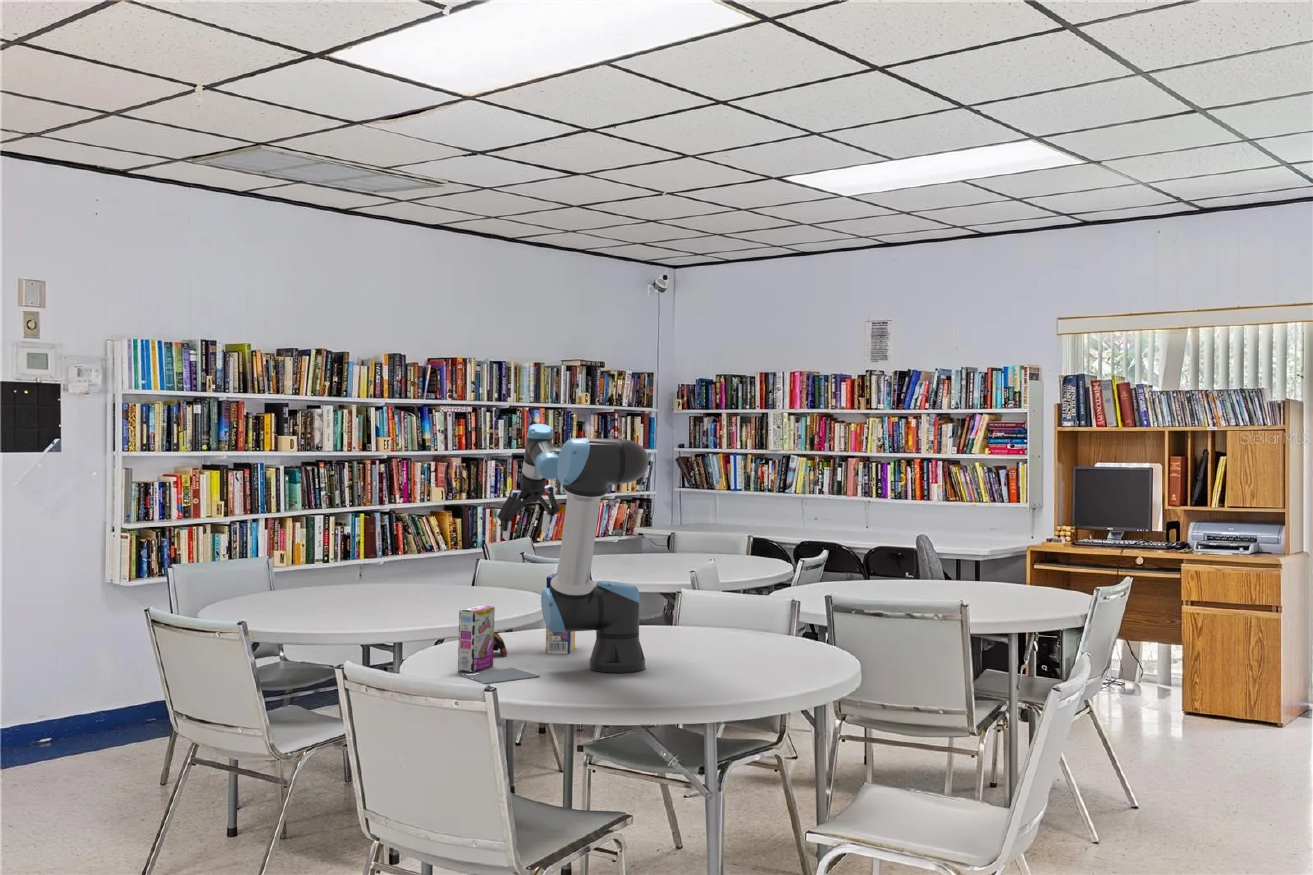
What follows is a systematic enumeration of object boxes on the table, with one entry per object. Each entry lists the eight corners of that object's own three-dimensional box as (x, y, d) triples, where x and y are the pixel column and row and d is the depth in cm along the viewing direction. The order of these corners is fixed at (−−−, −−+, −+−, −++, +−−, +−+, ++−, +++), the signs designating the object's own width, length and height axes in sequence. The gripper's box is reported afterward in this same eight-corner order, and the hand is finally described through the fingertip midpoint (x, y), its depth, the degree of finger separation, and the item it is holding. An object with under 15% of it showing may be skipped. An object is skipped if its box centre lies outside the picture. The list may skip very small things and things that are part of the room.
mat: (540, 677, 294) (540, 675, 294) (485, 684, 284) (485, 683, 284) (512, 668, 305) (512, 667, 305) (459, 675, 295) (459, 674, 295)
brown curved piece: (506, 660, 321) (492, 636, 319) (477, 674, 322) (463, 650, 321) (514, 643, 332) (500, 619, 331) (486, 656, 334) (472, 632, 332)
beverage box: (574, 647, 340) (575, 574, 341) (569, 653, 329) (569, 577, 330) (552, 647, 341) (552, 573, 341) (545, 653, 330) (546, 577, 330)
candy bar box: (473, 673, 299) (474, 610, 299) (457, 672, 300) (457, 609, 301) (494, 666, 309) (495, 605, 309) (478, 665, 311) (479, 604, 311)
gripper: (563, 463, 347) (553, 523, 356) (491, 473, 333) (483, 536, 341) (576, 474, 342) (566, 535, 351) (503, 485, 328) (494, 548, 336)
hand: (525, 535), depth 346 cm, fingers open, 13 cm apart
